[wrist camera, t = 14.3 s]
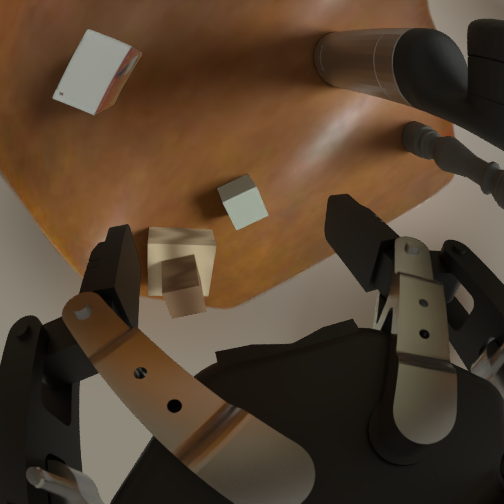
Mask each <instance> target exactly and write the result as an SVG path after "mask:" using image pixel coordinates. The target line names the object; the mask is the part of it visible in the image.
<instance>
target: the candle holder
mask: <svg viewBox="0 0 504 504" xmlns="http://www.w3.org/2000/svg"><path fill="white" fill-rule="evenodd" d="M402 143H403V146H404V148H405V149H406V150H407V151H409V152H411V153H413V154H414V155H416V156H418V157H421V158H425V159H428V160H430V159H434V160H435V162H436V164H437V165H438V166H439V168H440V169H442V170H443V171H447V172H450V173H454V174H458V175H461V176H464V177H468V178H469V179H471V180H472V181H474V182H475V183H477V184H478V185H480V187H481V190H482V192H483V193H484V194H487V195H488V194H490V193H491V194H492V196H493V197H494V199H495V201H496V202H497V203H498V205H499V206H500V207H501V208H503V209H504V170H500V167H499V165H498V164H497V163H496V162H490V163H487V162H486V161H484V160H482V159H480V158H478V157H477V156H476V155H474V154H473V153H472V152H471V151H470V150H469V149H467V147H465V146H464V145H463V144H462V143H461V142H460V141H458V140H457V139H456V138H453V137H451V136H445V137H440V135H439V134H438V132H437V131H435V130H433V129H432V128H431V127H429V126H426V125H424V124H422V123H419V122H416V121H413V122H410V123H409V124H407V125H406V127H405V129H404V130H403V134H402Z"/></svg>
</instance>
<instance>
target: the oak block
mask: <svg viewBox="0 0 504 504" xmlns="http://www.w3.org/2000/svg"><path fill="white" fill-rule="evenodd" d="M215 252H216V242H215V238H214V235H213V231H212V230H211V229H189V228H165V227H149V236H148V295H150V296H163V295H162V261H164V260H169V259H174V258H178V257H183V256H188V255H192V254H194V255H195V259H196V263H197V267H198V271H199V275H200V279H201V285H202V290H203V296H208V295H209V289H210V282H211V276H212V270H213V264H214V258H215Z"/></svg>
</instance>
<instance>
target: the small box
mask: <svg viewBox="0 0 504 504" xmlns="http://www.w3.org/2000/svg"><path fill="white" fill-rule="evenodd" d="M141 56H142V53H141V52H139V51H138V50H137V49H135V48H133V47H132V46H130V45H128V44H125V43H123V42H121V41H119V40H116V39H114V38H111V37H109V36H106V35H103V34H101V33H98V32H95V31H93V30H90V29H88V30H87V31H86V33H85V34H84V36H83V38H82V40H81V42H80V44H79V46H78V47H77V49H76V51H75V53H74V55H73V57H72V59H71V60H70V62H69V64H68V66H67V68H66V70H65V72H64V74H63V76H62V79H61V81H60V83H59V85H58V87H57V89H56V91H55V93H54V95H53V97H52V98H53V99H55V100H57V101H60V102H62V103H65V104H68V105H70V106H73V107H75V108H77V109H80V110H82V111H85V112H87V113H90V114H92V115H96V114H98V113H100V112H102V111H104V110H105V109H107V108H109V107H111V106H113V105H114V104H115V102H116V100H117V98H118V96H119V94H120V92H121V90H122V88H123V86H124V85H125V83H126V81H127V79H128V78H129V76H130V74H131V73H132V71H133V69H134V68H135V66H136V64H137V63H138V61H139V60H140V58H141Z"/></svg>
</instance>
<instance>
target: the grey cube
mask: <svg viewBox="0 0 504 504" xmlns="http://www.w3.org/2000/svg"><path fill="white" fill-rule="evenodd" d="M217 189H218V192H219V195H220V197H221V200H222V203H223V205H224V207H225V209H226V211H227V213H228V214H229V216H230V218H231V220H232V222H233V224H234V226H235V228H236V230H239V229H241V228H243V227H245V226H247V225H249V224H251V223H253V222H256V221H258V220H260V219H262V218H264V217H266V216H268V213H267V211H266V208H265V206H264V203H263V201H262V198H261V196H260V194H259V191H258V189H257V186H256V185H255V184H254V182H253V181H252V179H251V178H250V176H249V175H248V174H247V175H244V176H242V177H240V178H238V179H236V180H234V181H231V182H229V183H227V184H225V185H223V186H221V187H219V188H217Z"/></svg>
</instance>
